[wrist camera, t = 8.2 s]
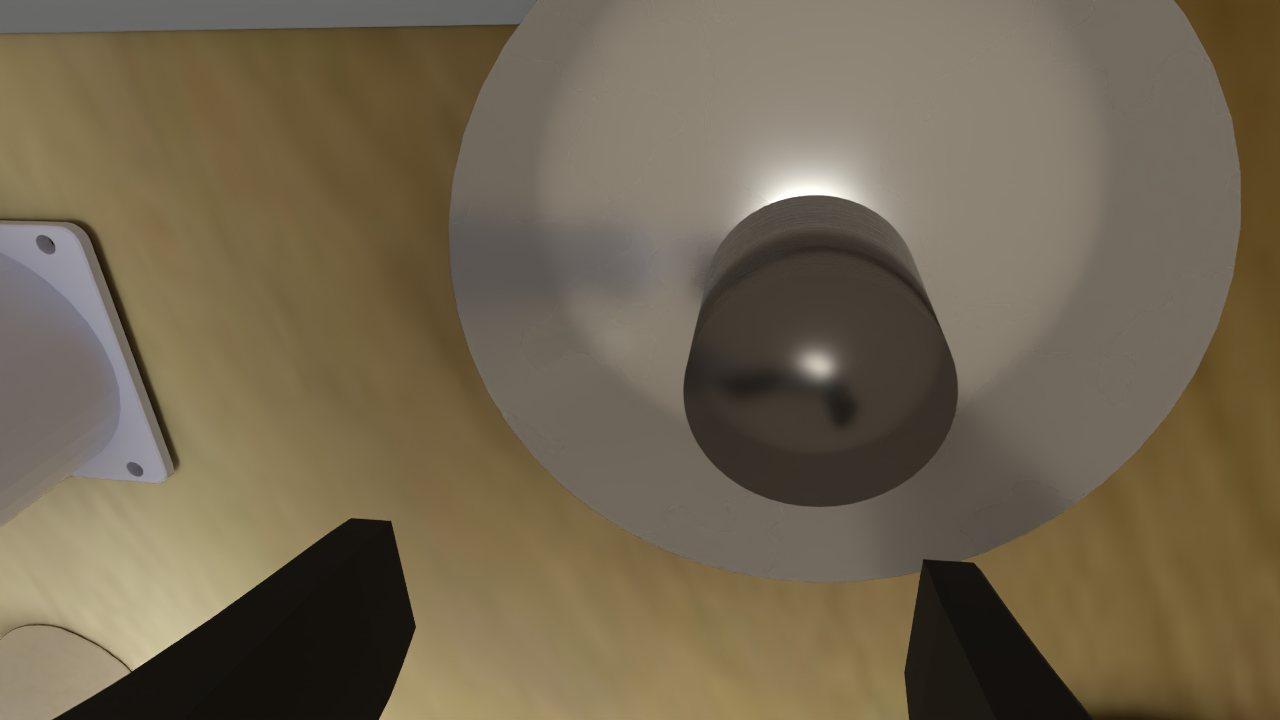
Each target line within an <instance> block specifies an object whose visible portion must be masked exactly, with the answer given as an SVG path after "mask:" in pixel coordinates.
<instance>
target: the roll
mask: <svg viewBox="0 0 1280 720" xmlns="http://www.w3.org/2000/svg"><path fill="white" fill-rule="evenodd" d="M129 673H131V672H130V671H129V670H128V668H127V667H125V666H124V665H123V664H122V663H121V662H120V661H119V660H117V659H116V658H115V657H113V656H111V655H110V654H109V653H108V652H107V651H105V650H103V649H102V648H101V647H99V646H97V645H95V644H94V643H92V642H90V641H87V640H85V639H83V638H82V637H79V636H78V635H75V634H73V633H71V632H68V631H66V630H63V629H61V628H57V627H52V626H40V625H35V626H24V627H20V628H17V629H14V630H13V631H10V632H9V633H8V634H7V635H6V636H5V637H3V638H2V639H1V640H0V720H52V719H54V718H56V717H57V716H59V715H61V714H63V713H64V712H66V711H68V710H69V709H71V708H73V707H75V706H76V705H78V704H80V703H82V702H83V701H85V700H87V699H88V698H90V697H92V696H93V695H95V694H97V693H98V692H100V691H102V690H103V689H105V688H106V687H108V686H110V685H111V684H113V683H115V682H116V681H118V680H119V679H121V678H123V677H124V676H126V675H127V674H129Z"/></svg>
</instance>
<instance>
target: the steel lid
mask: <svg viewBox="0 0 1280 720" xmlns="http://www.w3.org/2000/svg"><path fill="white" fill-rule="evenodd" d="M1240 227H1241V172H1240V166H1239V160H1238V154H1237V148H1236V142H1235V136H1234V130H1233V124H1232V118H1231V115H1230V112H1229V109H1228V107H1227V104H1226V101H1225V98H1224V95H1223V92H1222V89H1221V86H1220V83H1219V81H1218V78H1217V75H1216V72H1215V69H1214V66H1213V64H1212V62H1211V60H1210V59H1209V57H1208V55H1207V53H1206V51H1205V49H1204V48H1203V46H1202V44H1201V42H1200V40H1199V39H1198V37H1197V35H1196V33H1195V31H1194V30H1193V28H1192V26H1191V24H1190V22H1189V21H1188V19H1187V17H1186V15H1185V14H1184V13H1183V11H1182V10H1181V9H1180V8H1179V6H1178V5H1177V4H1176V3H1175V1H1174V0H538V1H537V2H536V3H535V5H534V6H533V7H532V9H531V10H530V11H529V13H528V14H527V15H526V17H525V18H524V20H523V21H522V22H521V24H520V25H519V26H518V28H517V29H516V30H515V32H514V33H513V34H512V36H511V37H510V38H509V40H508V41H507V42H506V44H505V46H504V48H503V49H502V51H501V53H500V55H499V57H498V59H497V60H496V62H495V64H494V66H493V68H492V69H491V71H490V73H489V75H488V77H487V79H486V80H485V82H484V84H483V86H482V88H481V90H480V93H479V95H478V98H477V100H476V103H475V106H474V108H473V111H472V114H471V116H470V119H469V122H468V124H467V127H466V129H465V132H464V135H463V139H462V143H461V147H460V152H459V156H458V160H457V165H456V169H455V174H454V178H453V183H452V194H451V205H450V216H449V250H450V272H451V278H452V283H453V289H454V295H455V300H456V306H457V312H458V316H459V319H460V322H461V325H462V328H463V332H464V335H465V338H466V341H467V344H468V348H469V351H470V354H471V356H472V358H473V360H474V363H475V365H476V367H477V369H478V371H479V374H480V376H481V378H482V380H483V382H484V385H485V387H486V389H487V391H488V393H489V394H490V396H491V398H492V399H493V401H494V402H495V404H496V406H497V407H498V409H499V411H500V412H501V414H502V416H503V417H504V419H505V420H506V422H507V424H508V425H509V426H510V428H511V429H512V430H513V432H514V433H515V434H516V435H517V437H518V438H519V439H520V440H521V442H522V443H523V444H524V446H525V447H526V448H527V449H528V451H529V452H530V453H531V454H532V456H533V457H534V458H535V459H536V460H537V461H538V462H539V463H540V464H541V465H542V466H543V467H544V468H545V469H546V470H547V471H548V472H549V473H550V474H551V475H552V476H553V477H554V478H555V479H556V480H557V481H558V482H559V483H560V484H561V485H562V486H564V487H565V488H566V489H567V490H568V491H570V492H571V493H572V494H573V495H575V496H576V497H577V498H578V499H580V500H581V501H582V502H583V503H585V504H586V505H587V506H588V507H589V508H591V509H592V510H594V511H595V512H597V513H598V514H600V515H602V516H603V517H605V518H606V519H608V520H609V521H611V522H612V523H614V524H615V525H617V526H619V527H620V528H622V529H623V530H625V531H627V532H629V533H631V534H633V535H635V536H637V537H639V538H641V539H643V540H645V541H647V542H649V543H651V544H653V545H655V546H657V547H659V548H661V549H664V550H666V551H669V552H671V553H674V554H677V555H679V556H682V557H684V558H687V559H690V560H692V561H695V562H698V563H702V564H705V565H709V566H713V567H716V568H720V569H723V570H727V571H731V572H734V573H740V574H746V575H752V576H758V577H763V578H769V579H775V580H789V581H803V582H851V581H865V580H873V579H881V578H889V577H897V576H903V575H907V574H912V573H916V572H921V569H922V563H923V559H928V560H942V561H956V562H958V561H961V560H964V559H967V558H970V557H973V556H976V555H979V554H982V553H985V552H987V551H989V550H991V549H994V548H996V547H998V546H1000V545H1003V544H1005V543H1007V542H1009V541H1011V540H1014V539H1016V538H1018V537H1020V536H1023V535H1025V534H1027V533H1028V532H1030V531H1032V530H1033V529H1035V528H1037V527H1039V526H1040V525H1042V524H1044V523H1045V522H1047V521H1049V520H1051V519H1052V518H1054V517H1056V516H1057V515H1059V514H1061V513H1063V512H1064V511H1066V510H1067V509H1069V508H1070V507H1071V506H1073V505H1074V504H1075V503H1077V502H1078V501H1079V500H1081V499H1082V498H1083V497H1085V496H1086V495H1087V494H1089V493H1090V492H1092V491H1093V490H1094V489H1096V488H1097V487H1098V486H1100V485H1101V484H1102V483H1103V482H1105V481H1106V480H1107V479H1108V478H1109V477H1110V476H1111V475H1112V474H1113V473H1114V472H1115V471H1116V470H1117V469H1118V468H1120V467H1121V466H1122V465H1123V464H1124V463H1125V462H1126V461H1127V460H1128V459H1129V458H1130V457H1131V456H1132V455H1133V454H1135V453H1136V452H1137V451H1138V450H1139V448H1140V447H1141V446H1142V445H1143V444H1144V442H1145V441H1146V440H1147V439H1148V438H1149V437H1150V435H1151V434H1152V433H1153V432H1154V431H1155V429H1156V428H1157V427H1158V426H1159V425H1160V424H1161V422H1162V421H1163V420H1164V419H1165V418H1166V416H1167V415H1168V414H1169V413H1170V411H1171V410H1172V408H1173V406H1174V405H1175V403H1176V402H1177V400H1178V399H1179V397H1180V396H1181V394H1182V393H1183V391H1184V389H1185V388H1186V386H1187V385H1188V383H1189V382H1190V380H1191V379H1192V377H1193V376H1194V374H1195V373H1196V371H1197V368H1198V366H1199V364H1200V362H1201V360H1202V358H1203V356H1204V354H1205V352H1206V349H1207V347H1208V345H1209V343H1210V341H1211V339H1212V337H1213V335H1214V333H1215V330H1216V328H1217V326H1218V323H1219V320H1220V317H1221V313H1222V310H1223V307H1224V304H1225V300H1226V297H1227V294H1228V291H1229V288H1230V284H1231V281H1232V278H1233V272H1234V266H1235V259H1236V253H1237V246H1238V240H1239V233H1240Z"/></svg>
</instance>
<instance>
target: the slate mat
mask: <svg viewBox="0 0 1280 720" xmlns="http://www.w3.org/2000/svg"><path fill="white" fill-rule="evenodd" d="M537 1H538V0H0V33H50V32H106V31H163V30H219V29H275V28H331V27H387V26H443V25H499V24H521V22H522V21H523V20H524V18H525V17H526V15H527V14H528V13H529V11H530V10H531V9H532V7H533V6H534V5H535V3H536V2H537Z"/></svg>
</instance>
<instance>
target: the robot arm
mask: <svg viewBox="0 0 1280 720" xmlns="http://www.w3.org/2000/svg"><path fill="white" fill-rule="evenodd" d="M49 238H50V239H51V240H52V241H53V243H54V244H55V246H54V245H53V244H52V243H51V241H50V240H49ZM173 471H174V467H173V463H172V460H171V458H170V455H169V452H168V450H167V447H166V444H165V441H164V439H163V436H162V433H161V431H160V428H159V425H158V422H157V420H156V417H155V414H154V412H153V409H152V406H151V404H150V401H149V398H148V395H147V393H146V390H145V387H144V385H143V382H142V379H141V376H140V374H139V371H138V368H137V366H136V363H135V360H134V357H133V355H132V352H131V349H130V347H129V344H128V341H127V338H126V336H125V333H124V330H123V328H122V325H121V322H120V319H119V317H118V314H117V311H116V309H115V306H114V303H113V301H112V298H111V295H110V292H109V290H108V287H107V284H106V282H105V279H104V276H103V273H102V271H101V268H100V265H99V263H98V260H97V257H96V254H95V252H94V249H93V246H92V244H91V241H90V239H89V237H88V235H87V234H86V233H85V232H84V231H83V230H82V229H81V228H80V227H78V226H77V225H75V224H73V223H68V222H44V221H3V220H0V527H1V526H3V525H4V524H5V523H7V522H8V521H9V520H11V519H12V518H13V517H15V516H16V515H17V514H19V513H20V512H21V511H23V510H24V509H25V508H27V507H28V506H29V505H31V504H32V503H33V502H35V501H36V500H37V499H39V498H40V497H41V496H43V495H44V494H45V493H47V492H48V491H49V490H51V489H52V488H53V487H55V486H56V485H57V484H59V483H60V482H61V481H63V480H64V479H65V478H67V477H68V476H73V477H85V478H98V479H110V480H123V481H135V482H147V483H162V482H164V481H165V480H166V479H167V478H169V477H170V476H171V475H172V474H173ZM415 629H416V626H415V621H414V617H413V613H412V609H411V604H410V600H409V596H408V591H407V587H406V583H405V579H404V574H403V570H402V566H401V561H400V557H399V553H398V548H397V544H396V540H395V536H394V531H393V527H392V523H391V521H383V520H369V519H355V518H351V519H349V520H348V521H346V522H345V523H343V524H342V525H340V526H339V527H337V528H336V529H334V530H333V531H331V532H330V533H328V534H327V535H326V536H324V537H323V538H321V539H320V540H319V541H317V542H316V543H315V544H313V545H312V546H310V547H309V548H308V549H306V550H305V551H304V552H302V553H301V554H299V555H298V556H297V557H295V558H294V559H293V560H291V561H290V562H289V563H287V564H286V565H285V566H283V567H282V568H280V569H279V570H278V571H276V572H275V573H274V574H272V575H271V576H270V577H268V578H267V579H265V580H264V581H263V582H261V583H260V584H259V585H257V586H256V587H254V588H253V589H252V590H250V591H249V592H247V593H246V594H245V595H243V596H242V597H240V598H239V599H238V600H236V601H235V602H234V603H232V604H231V605H229V606H228V607H227V608H225V609H224V610H222V611H221V612H220V613H218V614H217V615H216V616H214V617H213V618H211V619H210V620H208V621H207V622H205V623H204V624H202V625H201V626H199V627H198V628H196V629H195V630H193V631H192V632H190V633H189V634H187V635H186V636H184V637H183V638H181V639H180V640H179V641H177V642H176V643H174V644H173V645H171V646H170V647H168V648H167V649H165V650H164V651H162V652H161V653H159V654H158V655H156V656H155V657H153V658H152V659H150V660H149V661H147V662H146V663H144V664H143V665H141V666H140V667H138V668H137V669H135V670H134V671H132V672H131V673H129V674H127V675H126V676H124V677H123V678H121V679H119V680H118V681H116V682H115V683H113V684H111V685H110V686H108V687H106V688H105V689H103V690H102V691H100V692H98V693H97V694H95V695H93V696H92V697H90V698H88V699H87V700H85V701H83V702H82V703H80V704H78V705H76V706H75V707H73V708H71V709H69V710H68V711H66V712H64V713H63V714H61V715H59V716H57V717H56V718H54V719H52V720H379V718H380V716H381V714H382V712H383V710H384V708H385V706H386V704H387V702H388V700H389V698H390V696H391V694H392V691H393V688H394V686H395V683H396V681H397V678H398V676H399V673H400V670H401V668H402V665H403V663H404V660H405V657H406V654H407V651H408V648H409V646H410V643H411V640H412V637H413V634H414V631H415ZM904 674H905V683H906V693H907V703H908V713H909V720H1093V718H1092V717H1091V716H1090V715H1089V713H1088V712H1087V711H1086V710H1085V708H1084V707H1083V706H1082V705H1081V703H1080V702H1079V701H1078V700H1077V698H1076V697H1075V696H1074V695H1073V693H1072V692H1071V691H1070V690H1069V689H1068V687H1067V686H1066V685H1065V684H1064V682H1063V681H1062V680H1061V679H1060V677H1059V676H1058V675H1057V674H1056V672H1055V671H1054V670H1053V668H1052V667H1051V666H1050V665H1049V663H1048V662H1047V661H1046V659H1045V658H1044V657H1043V655H1042V654H1041V653H1040V652H1039V650H1038V649H1037V648H1036V646H1035V645H1034V644H1033V642H1032V641H1031V639H1030V638H1029V637H1028V635H1027V634H1026V633H1025V631H1024V630H1023V629H1022V627H1021V626H1020V625H1019V623H1018V622H1017V621H1016V619H1015V618H1014V616H1013V615H1012V614H1011V612H1010V611H1009V610H1008V608H1007V607H1006V605H1005V604H1004V603H1003V601H1002V600H1001V598H1000V597H999V596H998V594H997V593H996V591H995V590H994V588H993V587H992V586H991V584H990V583H989V581H988V580H987V578H986V577H985V576H984V574H983V573H982V571H981V570H980V569H979V568H978V567H977V566H976V565H975V564H974V563H970V562H956V561H942V560H928V559H923V563H922V569H921V575H920V581H919V587H918V593H917V599H916V605H915V611H914V617H913V624H912V630H911V636H910V642H909V648H908V654H907V660H906V666H905V672H904Z"/></svg>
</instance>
